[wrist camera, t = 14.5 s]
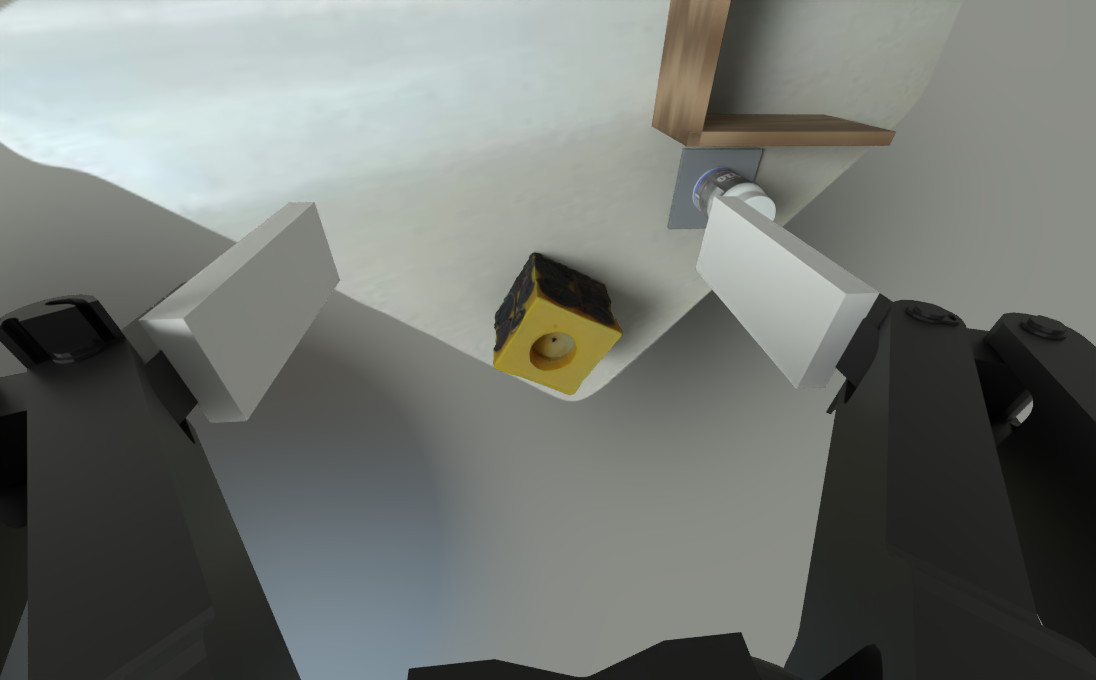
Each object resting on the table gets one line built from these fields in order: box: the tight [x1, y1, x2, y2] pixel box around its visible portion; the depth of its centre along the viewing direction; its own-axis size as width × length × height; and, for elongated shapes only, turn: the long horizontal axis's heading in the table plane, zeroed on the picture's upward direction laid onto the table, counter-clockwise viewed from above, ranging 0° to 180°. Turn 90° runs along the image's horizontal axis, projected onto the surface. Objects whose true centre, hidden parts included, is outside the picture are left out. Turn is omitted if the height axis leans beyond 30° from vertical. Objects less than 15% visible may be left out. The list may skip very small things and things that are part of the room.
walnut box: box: [652, 0, 896, 146], centre depth 31 cm, size 14×17×9 cm
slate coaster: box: [668, 148, 763, 229], centre depth 43 cm, size 8×8×1 cm
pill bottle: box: [693, 167, 776, 221], centre depth 39 cm, size 5×5×8 cm
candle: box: [493, 253, 622, 395], centre depth 45 cm, size 10×10×10 cm
